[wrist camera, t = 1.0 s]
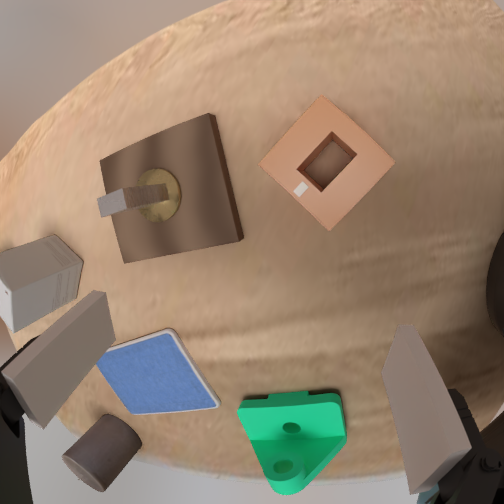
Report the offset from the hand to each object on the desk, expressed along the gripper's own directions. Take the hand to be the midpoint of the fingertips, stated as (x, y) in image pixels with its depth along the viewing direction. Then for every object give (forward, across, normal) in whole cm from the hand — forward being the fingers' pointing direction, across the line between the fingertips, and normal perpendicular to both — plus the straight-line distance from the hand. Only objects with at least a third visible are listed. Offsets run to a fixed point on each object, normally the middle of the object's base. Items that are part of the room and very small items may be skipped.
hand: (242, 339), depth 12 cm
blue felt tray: (+17, +16, +23) cm, 33 cm away
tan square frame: (+16, -4, -7) cm, 18 cm away
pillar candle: (+17, +26, +41) cm, 51 cm away
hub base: (+18, +11, -3) cm, 21 cm away
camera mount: (+14, -5, +22) cm, 26 cm away
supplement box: (+20, +29, +8) cm, 36 cm away
